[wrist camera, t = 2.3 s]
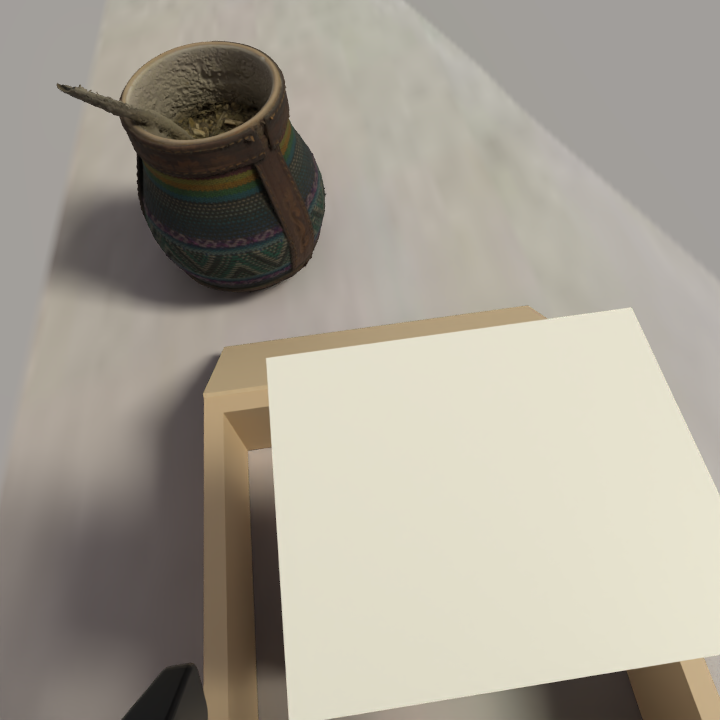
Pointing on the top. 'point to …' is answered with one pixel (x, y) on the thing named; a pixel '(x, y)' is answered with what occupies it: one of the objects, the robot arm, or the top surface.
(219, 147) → the mate gourd
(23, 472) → the top surface
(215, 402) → the tan rectangular open frame
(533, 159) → the top surface
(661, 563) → the box
